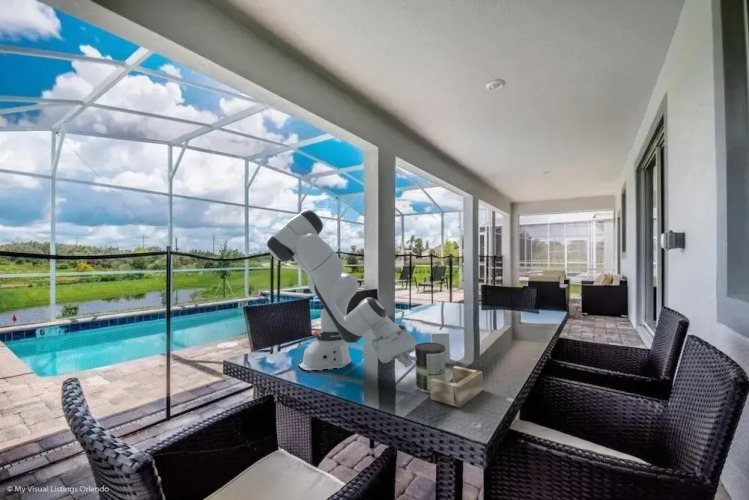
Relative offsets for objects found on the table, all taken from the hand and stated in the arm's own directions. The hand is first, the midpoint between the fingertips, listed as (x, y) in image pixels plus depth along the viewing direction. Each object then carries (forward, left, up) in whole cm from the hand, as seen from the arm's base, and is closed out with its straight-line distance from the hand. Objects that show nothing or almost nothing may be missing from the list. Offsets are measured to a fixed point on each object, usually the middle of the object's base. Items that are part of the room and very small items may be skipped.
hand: (409, 365), depth 124 cm
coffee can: (+3, -8, -6) cm, 11 cm away
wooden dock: (+7, -17, -6) cm, 19 cm away
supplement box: (+24, +14, -6) cm, 29 cm away
